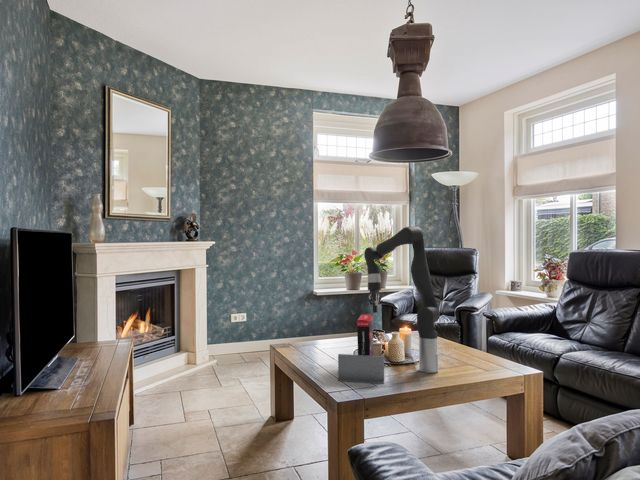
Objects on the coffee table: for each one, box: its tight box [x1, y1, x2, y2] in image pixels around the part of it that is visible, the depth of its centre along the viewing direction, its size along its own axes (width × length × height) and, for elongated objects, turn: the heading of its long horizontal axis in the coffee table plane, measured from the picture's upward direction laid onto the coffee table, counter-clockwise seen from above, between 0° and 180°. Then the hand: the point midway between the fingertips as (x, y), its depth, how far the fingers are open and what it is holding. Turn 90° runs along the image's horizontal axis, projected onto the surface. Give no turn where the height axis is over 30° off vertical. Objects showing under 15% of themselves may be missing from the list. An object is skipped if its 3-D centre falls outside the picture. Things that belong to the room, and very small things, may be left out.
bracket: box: [336, 353, 385, 385], centre depth 228 cm, size 22×14×12 cm, turn 78°
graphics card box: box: [356, 314, 374, 356], centre depth 244 cm, size 17×7×27 cm, turn 168°
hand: (375, 312), depth 264 cm, fingers closed
